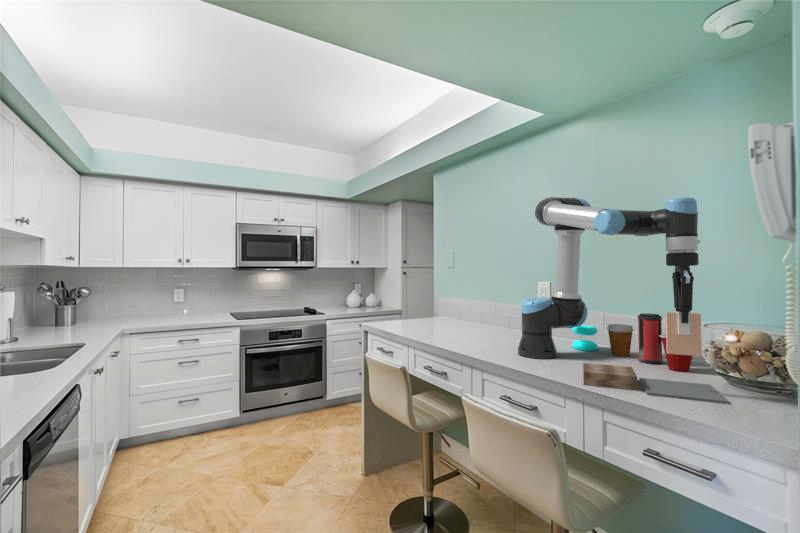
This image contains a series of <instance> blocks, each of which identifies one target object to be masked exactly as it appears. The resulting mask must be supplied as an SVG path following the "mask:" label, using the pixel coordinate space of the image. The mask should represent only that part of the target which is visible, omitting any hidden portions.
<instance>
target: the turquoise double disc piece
mask: <svg viewBox="0 0 800 533" xmlns="http://www.w3.org/2000/svg"><path fill="white" fill-rule="evenodd" d="M571 330H572V332H573V333H574V335H575V334H576V335H579V336H586V337H587V336H594V335H596V334H597V332H598V328H597V327H595V326H593V325H587V324H586V325H585V324H584V325H583V324H582V325H581V326H578V327H573V328H571ZM572 348H573V349H575V350H578V351H582V350H583V352H584V351H585V352H593V351H596V350H598V344H597V343H596V342H594V341H593V340H587V339H577V340H575V341H573V342H572Z"/></svg>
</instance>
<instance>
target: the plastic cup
mask: <svg viewBox="0 0 800 533" xmlns="http://www.w3.org/2000/svg"><path fill="white" fill-rule="evenodd" d="M659 336H660V337H661V340H662V347H663V350H664V356H665V358H666V362H667V367H668V370H671V371H672V372H678V373H679V372H680V373H688V372H690V369H691V365H692V360H693V356H692V355H677V354H667V346H666V334H662V335H659Z"/></svg>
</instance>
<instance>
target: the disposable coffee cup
mask: <svg viewBox="0 0 800 533" xmlns="http://www.w3.org/2000/svg"><path fill="white" fill-rule="evenodd" d="M634 329H635V328H633V325H630V324H629V325H628V324H621V323H620V324H619V323H610V324H607V327H606V330H607V332H608V338H609V344H610V345H609V346H610V352H611V353H610V354H611V355H613V356H616V357H620V358H621V357H629V356H630V353H631V346H632V338H633V332H634Z"/></svg>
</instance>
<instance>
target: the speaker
mask: <svg viewBox="0 0 800 533" xmlns="http://www.w3.org/2000/svg"><path fill="white" fill-rule="evenodd" d="M662 321H663V317H662V316H661V315H660V314H657V313H639V315H637V326H638V330H637V331H638V332H637V333H638V336H637V338H638V357H637V360H638V361H639V362H641V363H644V364H649V363H650V365H661V364H663V343H662V340H661V337H660V336H659V335H663V332H662V328H663V327H662Z"/></svg>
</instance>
